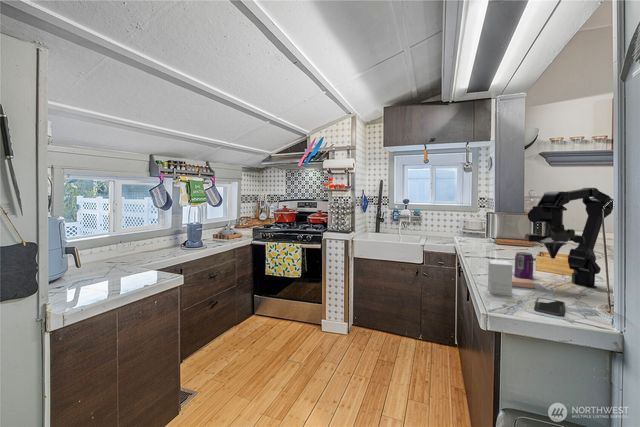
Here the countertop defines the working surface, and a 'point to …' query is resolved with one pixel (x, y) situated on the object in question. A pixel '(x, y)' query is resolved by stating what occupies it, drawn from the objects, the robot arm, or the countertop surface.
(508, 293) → the supplement box
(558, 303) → the phone
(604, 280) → the countertop surface
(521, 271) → the beverage can
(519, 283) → the tile
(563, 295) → the countertop surface
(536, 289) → the mat
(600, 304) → the countertop surface
